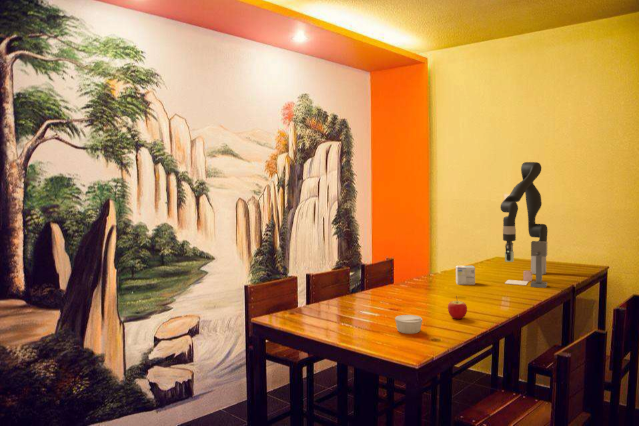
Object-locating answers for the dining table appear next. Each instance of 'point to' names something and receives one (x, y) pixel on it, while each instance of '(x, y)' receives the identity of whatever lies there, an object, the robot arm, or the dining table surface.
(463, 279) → the light bulb box
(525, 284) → the plate
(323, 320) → the dining table surface
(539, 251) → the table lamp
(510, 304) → the dining table surface
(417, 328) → the ramekin
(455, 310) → the apple
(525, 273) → the block
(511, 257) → the pale green rectangular block
